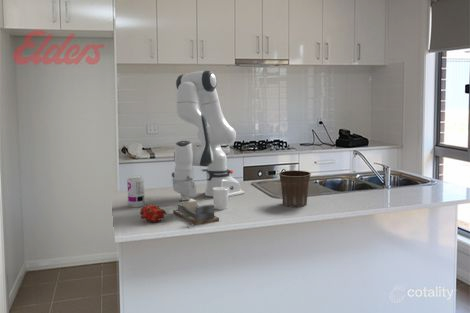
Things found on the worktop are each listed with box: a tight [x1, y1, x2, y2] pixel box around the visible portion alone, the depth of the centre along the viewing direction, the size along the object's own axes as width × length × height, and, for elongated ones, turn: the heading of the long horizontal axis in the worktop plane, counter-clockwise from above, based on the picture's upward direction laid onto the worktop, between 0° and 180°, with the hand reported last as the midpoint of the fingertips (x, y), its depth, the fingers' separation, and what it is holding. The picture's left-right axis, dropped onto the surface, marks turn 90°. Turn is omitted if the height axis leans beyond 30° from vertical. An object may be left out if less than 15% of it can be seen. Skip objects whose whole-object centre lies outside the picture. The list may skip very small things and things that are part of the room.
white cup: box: [213, 187, 230, 211], centre depth 233 cm, size 8×8×10 cm
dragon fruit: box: [139, 204, 167, 223], centre depth 211 cm, size 8×8×12 cm
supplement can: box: [126, 175, 146, 208], centre depth 240 cm, size 8×8×15 cm
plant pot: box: [278, 169, 312, 207], centre depth 238 cm, size 16×16×16 cm
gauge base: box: [172, 203, 220, 226], centre depth 218 cm, size 12×24×8 cm, turn 30°
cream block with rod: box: [178, 198, 198, 212], centre depth 222 cm, size 8×6×6 cm
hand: (185, 203), depth 227 cm, fingers closed
